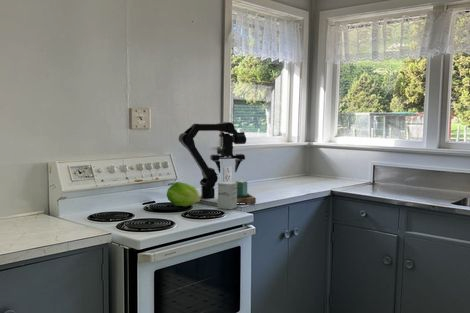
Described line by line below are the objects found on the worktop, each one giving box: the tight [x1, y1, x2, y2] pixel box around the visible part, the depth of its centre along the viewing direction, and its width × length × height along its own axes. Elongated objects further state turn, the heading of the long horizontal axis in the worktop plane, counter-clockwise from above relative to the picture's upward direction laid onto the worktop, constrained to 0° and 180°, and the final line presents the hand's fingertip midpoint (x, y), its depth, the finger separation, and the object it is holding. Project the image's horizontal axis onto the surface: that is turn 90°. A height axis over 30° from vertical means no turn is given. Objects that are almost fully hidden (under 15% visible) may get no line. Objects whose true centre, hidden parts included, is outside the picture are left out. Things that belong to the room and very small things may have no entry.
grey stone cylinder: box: [217, 180, 238, 210], centre depth 231 cm, size 7×7×13 cm
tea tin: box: [236, 180, 248, 198], centre depth 245 cm, size 4×4×10 cm
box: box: [237, 192, 257, 204], centre depth 246 cm, size 13×13×3 cm
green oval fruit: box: [166, 181, 202, 207], centre depth 232 cm, size 14×20×12 cm
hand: (227, 172), depth 261 cm, fingers open, 9 cm apart
